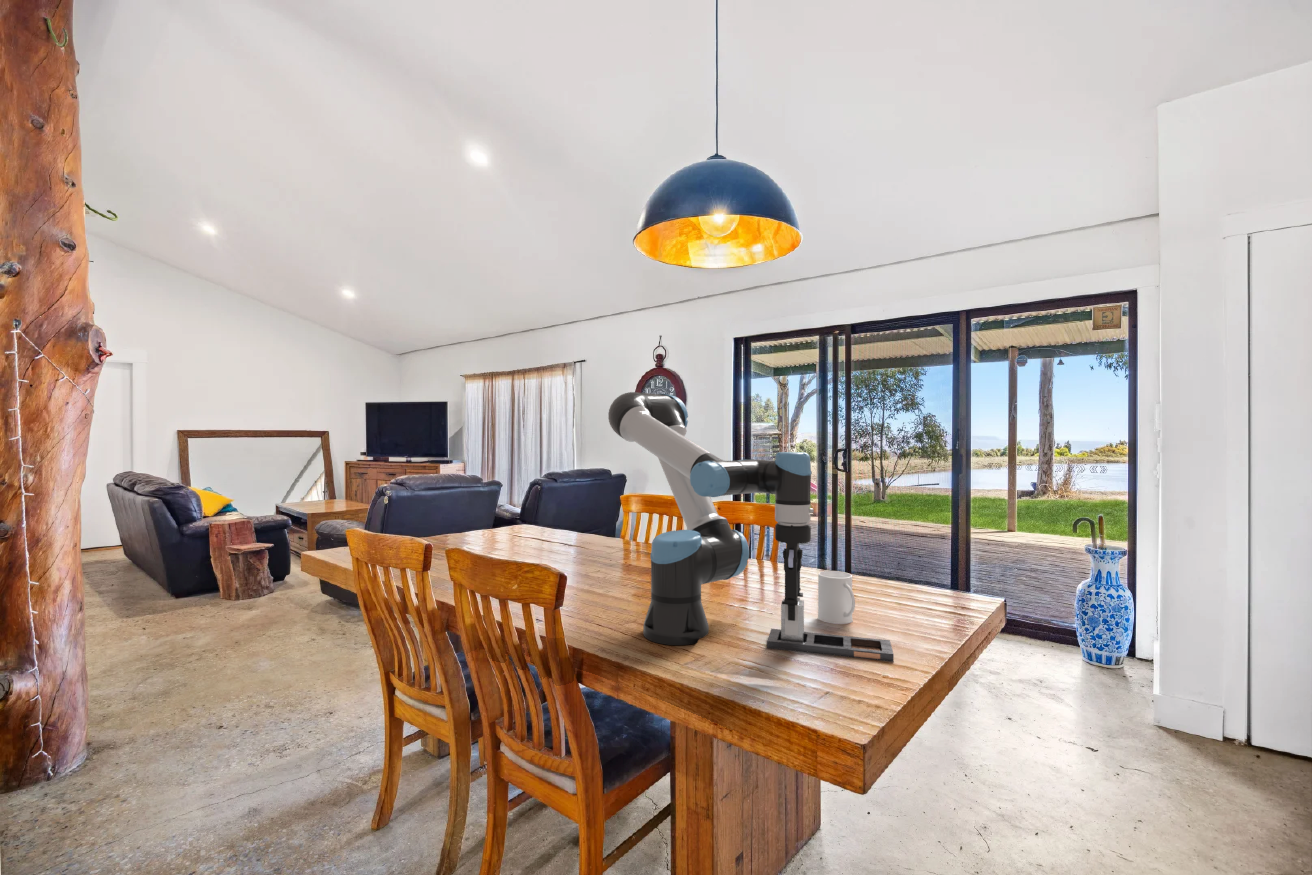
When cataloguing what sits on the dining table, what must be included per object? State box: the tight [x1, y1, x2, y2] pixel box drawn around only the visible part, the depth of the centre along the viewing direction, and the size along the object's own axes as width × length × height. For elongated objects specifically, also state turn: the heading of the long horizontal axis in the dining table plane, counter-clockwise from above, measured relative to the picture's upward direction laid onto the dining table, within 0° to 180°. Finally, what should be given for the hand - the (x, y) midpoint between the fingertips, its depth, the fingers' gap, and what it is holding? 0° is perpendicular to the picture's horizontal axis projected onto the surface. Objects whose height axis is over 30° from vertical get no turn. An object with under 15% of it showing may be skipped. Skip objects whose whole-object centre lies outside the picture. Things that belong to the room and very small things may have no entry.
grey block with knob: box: [780, 598, 805, 643], centre depth 127 cm, size 4×4×10 cm
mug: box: [817, 570, 856, 625], centre depth 143 cm, size 12×8×12 cm
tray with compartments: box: [766, 628, 894, 663], centre depth 124 cm, size 25×8×2 cm, turn 73°
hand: (792, 630), depth 127 cm, fingers closed on grey block with knob, 4 cm apart
